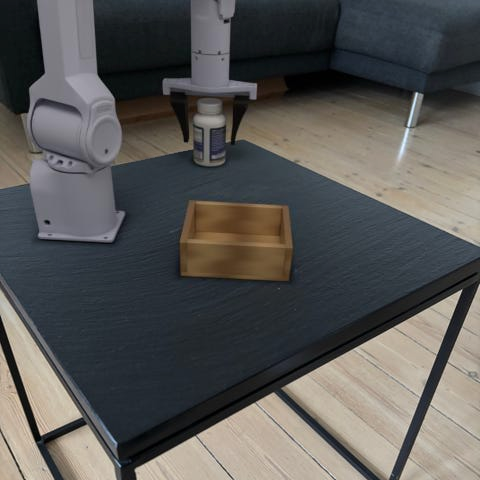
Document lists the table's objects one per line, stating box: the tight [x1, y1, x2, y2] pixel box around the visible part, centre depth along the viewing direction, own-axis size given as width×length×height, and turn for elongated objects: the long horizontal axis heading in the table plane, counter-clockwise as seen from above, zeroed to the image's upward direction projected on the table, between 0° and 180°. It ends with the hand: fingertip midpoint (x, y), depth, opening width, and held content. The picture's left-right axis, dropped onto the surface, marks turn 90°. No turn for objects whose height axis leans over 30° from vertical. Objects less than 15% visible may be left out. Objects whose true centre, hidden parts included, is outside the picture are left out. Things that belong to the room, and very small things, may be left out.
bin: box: [179, 199, 294, 282], centre depth 63 cm, size 13×11×4 cm
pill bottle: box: [192, 97, 227, 168], centre depth 85 cm, size 5×5×10 cm
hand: (209, 141), depth 85 cm, fingers open, 7 cm apart
